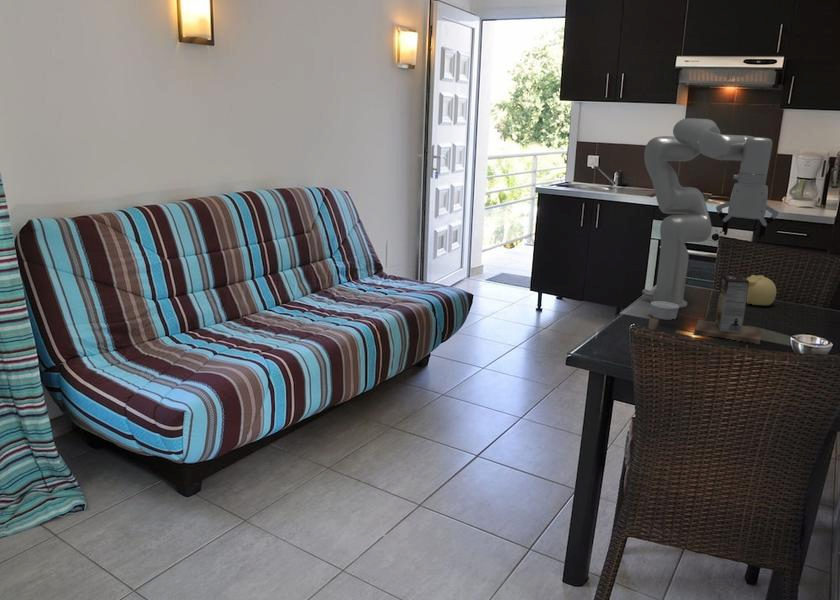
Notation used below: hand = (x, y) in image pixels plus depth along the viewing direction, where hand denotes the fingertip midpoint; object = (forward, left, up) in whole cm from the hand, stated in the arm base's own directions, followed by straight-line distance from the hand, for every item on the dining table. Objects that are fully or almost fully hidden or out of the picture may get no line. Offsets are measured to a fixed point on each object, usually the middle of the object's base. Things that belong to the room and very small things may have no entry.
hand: (742, 236), depth 211 cm
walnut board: (0, -8, -29) cm, 30 cm away
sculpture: (+7, +41, -29) cm, 51 cm away
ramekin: (-20, +2, -29) cm, 36 cm away
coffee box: (0, -7, -28) cm, 29 cm away
